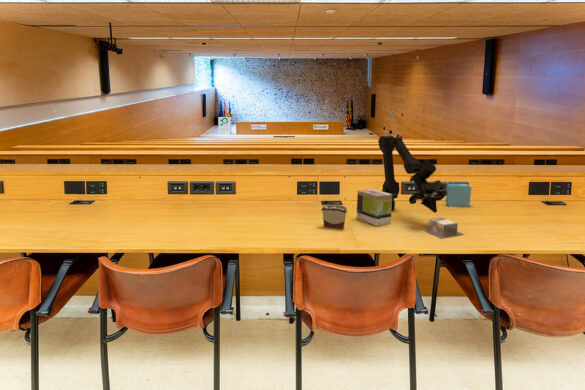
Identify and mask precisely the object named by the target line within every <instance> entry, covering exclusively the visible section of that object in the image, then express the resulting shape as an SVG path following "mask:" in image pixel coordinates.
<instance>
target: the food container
mask: <svg viewBox="0 0 585 390" xmlns="http://www.w3.org/2000/svg"><path fill="white" fill-rule="evenodd" d="M321 207H322V208H321V212H322V221H323V228H324V229H332V230H333V229H334V230H344V229H345V224H346V215H347V213H348V209H347V207H346V206H344V205H340V204H326V205H323V206H321Z"/></svg>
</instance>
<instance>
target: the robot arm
mask: <svg viewBox="0 0 585 390" xmlns="http://www.w3.org/2000/svg"><path fill="white" fill-rule="evenodd" d="M377 142H378V147H379V149H380V151H381V152H382V156H383V169H384V182H383V184H382V190H381V191H383V192H386V193H390V194H392V211H391V212H394V210H395V209H396V200H395V199H397V198H398V197H399V193H400V190H401V189H400V182H399V181H396V179H395V168H394V158H393V157H394V156H393V155H394V153H393V152H394V149H395V150H396V152H397V154H398V155H399V156H400V158H401V160H402V161H403V168H404V170H405V172H406V173H407V174H409V175H410V177H409V182H411V183H412V182H413V183H414V185H415V187H416V189H415V191H416V192H414V193H412V194H411V196H410V197H409V199H408V201H409V204H410V205H412V204H416V203H417V200H418V201H420V200H421V202H420V205H423V206H424V207H426V208H428V209H429V210H430V211H431V212H433V213H437V212H438V208H437V207H438V206H437V202H438V201H441V200H443V199H444V198H446V195H447V189H441V187H442V186H443V183H442V182H441V180H438V179H437V180H435V181H433V182H428V180H427V179H429V178H430V177H431V176H432V175H433V174H434V173H435V172H436V171H437V166H436V165H434V164H433V163H432V162H430V161H429V160H425V161H424V162H423V163H421V161H419V159H418V158H416V157H414V156H413V155H412V153H411V152H410V151H409V149H408V147H407V145H405V143H404V141H403V138H402V137H401V136H394V135H381V136H380V137H379V138H378V141H377ZM412 174H413V175H412ZM436 190H437V191H436Z"/></svg>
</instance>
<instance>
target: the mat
mask: <svg viewBox="0 0 585 390" xmlns="http://www.w3.org/2000/svg"><path fill="white" fill-rule="evenodd" d="M423 231H424V232H426V233H427V234H430V235H432V236H435V237H437V238H440V239H445V238H452V237H458V236H462V235H463V236H464V233H463V232H459V231H458V230H457V234H454V235H448V236H443V235H441V234H439V233H436V232H434V231H432V230H429V229H426V230H423Z"/></svg>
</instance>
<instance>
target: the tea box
mask: <svg viewBox="0 0 585 390" xmlns="http://www.w3.org/2000/svg"><path fill="white" fill-rule="evenodd" d="M356 198H357V199H356V200H357V201H356V219H357V220H360V221H363V222H365V223H368V224H371V225H373V226H375V227H376V226H384V225H388V224H391V222H392V212H393V211H392V194H390V193H386V192H383V191H382V190H378V189H375V188H367V189H359V190H357V197H356Z"/></svg>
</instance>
